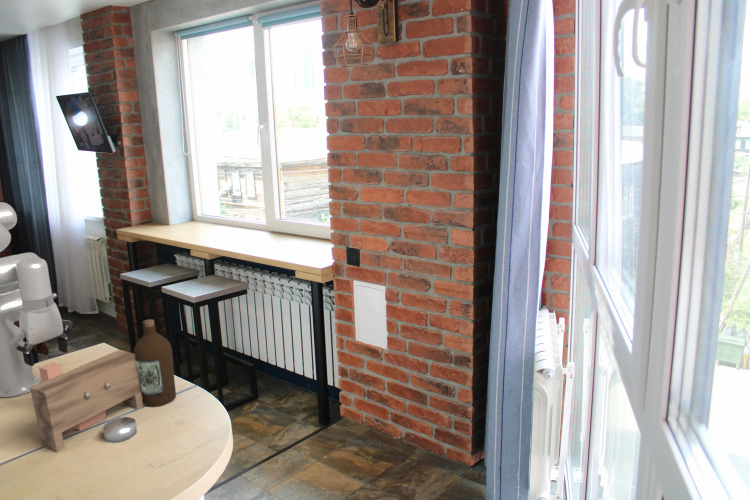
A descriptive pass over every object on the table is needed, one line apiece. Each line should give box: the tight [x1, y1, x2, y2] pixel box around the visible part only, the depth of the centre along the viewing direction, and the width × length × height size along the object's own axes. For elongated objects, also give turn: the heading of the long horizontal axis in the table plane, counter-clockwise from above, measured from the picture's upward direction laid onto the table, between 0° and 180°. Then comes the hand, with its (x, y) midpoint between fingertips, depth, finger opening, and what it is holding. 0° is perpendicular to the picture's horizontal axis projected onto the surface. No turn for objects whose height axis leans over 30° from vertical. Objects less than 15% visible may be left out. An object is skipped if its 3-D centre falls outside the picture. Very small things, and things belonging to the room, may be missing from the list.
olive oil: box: [132, 319, 177, 408], centre depth 169 cm, size 11×11×25 cm
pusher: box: [38, 361, 107, 432], centre depth 163 cm, size 19×8×14 cm, turn 59°
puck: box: [102, 416, 138, 444], centre depth 154 cm, size 8×8×3 cm
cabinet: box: [30, 349, 144, 453], centre depth 157 cm, size 8×26×17 cm, turn 149°
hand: (47, 358), depth 165 cm, fingers open, 9 cm apart
